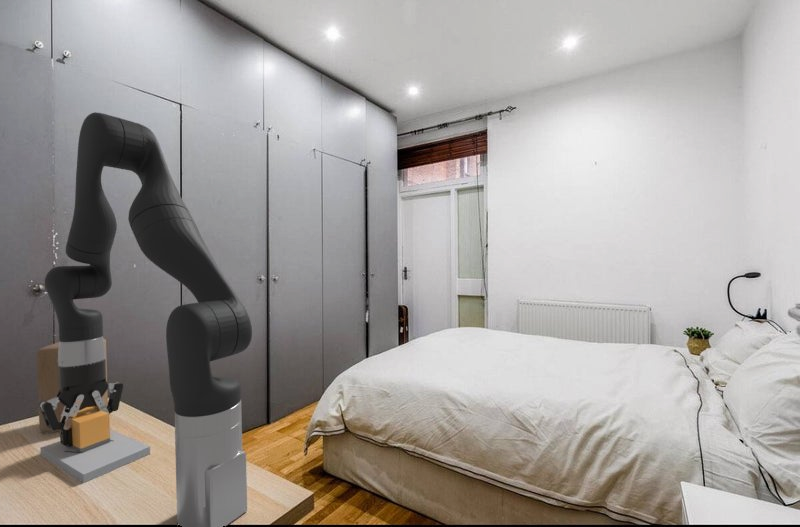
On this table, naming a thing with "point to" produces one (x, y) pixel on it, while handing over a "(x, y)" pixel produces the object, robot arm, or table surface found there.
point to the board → (96, 456)
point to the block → (52, 381)
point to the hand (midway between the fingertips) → (85, 439)
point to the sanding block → (90, 429)
